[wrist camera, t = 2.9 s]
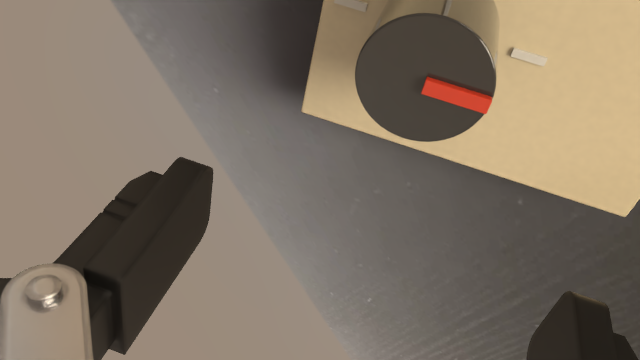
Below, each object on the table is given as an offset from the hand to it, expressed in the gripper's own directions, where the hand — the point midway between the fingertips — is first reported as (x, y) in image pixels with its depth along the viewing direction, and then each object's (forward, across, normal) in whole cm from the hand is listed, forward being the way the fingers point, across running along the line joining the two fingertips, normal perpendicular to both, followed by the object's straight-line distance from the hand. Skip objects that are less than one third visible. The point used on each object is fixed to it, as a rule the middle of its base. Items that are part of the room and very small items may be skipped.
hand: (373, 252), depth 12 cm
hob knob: (+14, 0, 0) cm, 14 cm away
